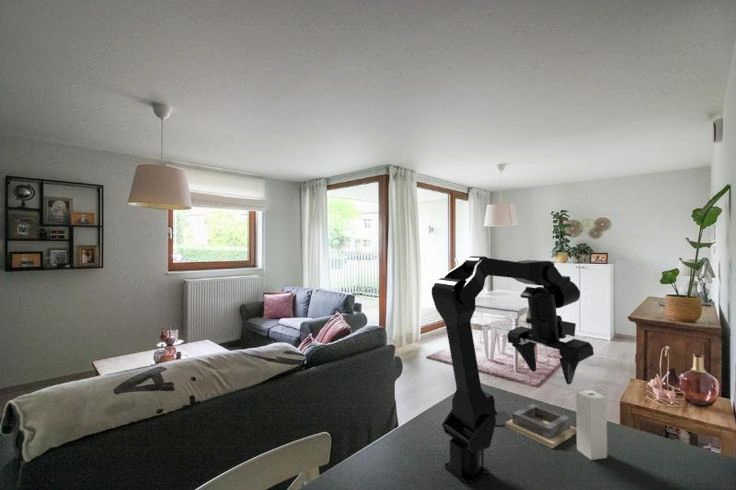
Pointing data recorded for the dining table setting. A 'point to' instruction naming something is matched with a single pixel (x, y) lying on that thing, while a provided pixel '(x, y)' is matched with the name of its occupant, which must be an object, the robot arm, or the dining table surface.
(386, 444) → the dining table surface
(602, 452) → the block
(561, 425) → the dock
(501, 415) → the smartphone
